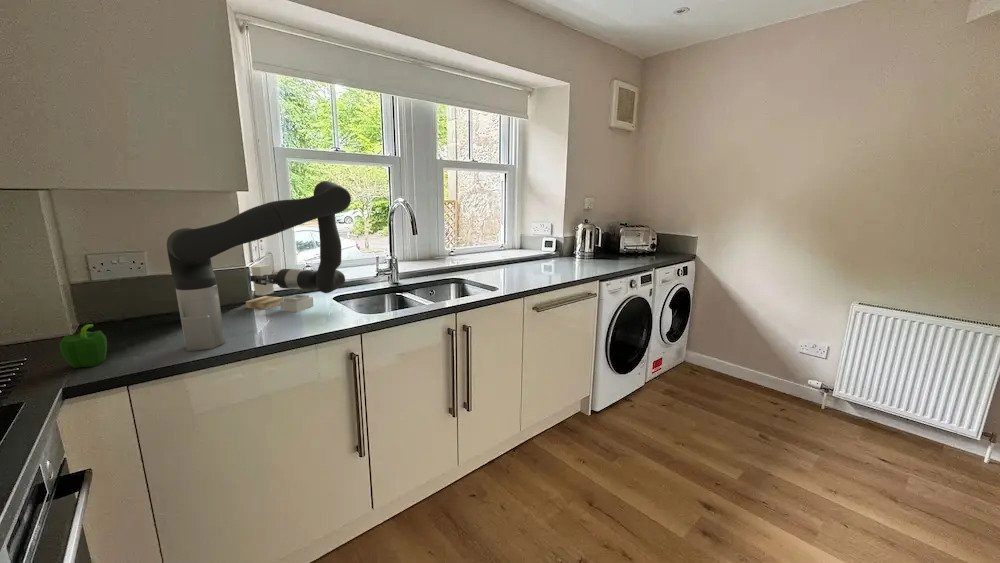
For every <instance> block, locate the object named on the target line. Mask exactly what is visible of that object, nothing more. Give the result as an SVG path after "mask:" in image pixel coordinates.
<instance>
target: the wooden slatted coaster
mask: <svg viewBox="0 0 1000 563" xmlns="http://www.w3.org/2000/svg"><path fill="white" fill-rule="evenodd" d="M281 301H284V297H282V296H281V297H279V296H271V295H270V296H268V295H262V296H261V297H257V298H252V299H250V300H246V301H245V305H246V306H245V307H246V309H247V308H248V309H257V310H268V308H269V309H271V307H272V308H274V307H277V306H280V302H281Z"/></svg>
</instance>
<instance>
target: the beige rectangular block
mask: <svg viewBox="0 0 1000 563" xmlns="http://www.w3.org/2000/svg"><path fill="white" fill-rule="evenodd" d="M283 299H284V301H281V302H280V305H279V306H280V311H281V312H293V313H298V312H301V311H303V310H305V309H309V308H311V307H314V306H315V304H314V297H313V296H310V295H307V294H293V295H291V296H288V297H283Z"/></svg>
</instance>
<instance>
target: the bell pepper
mask: <svg viewBox="0 0 1000 563" xmlns="http://www.w3.org/2000/svg"><path fill="white" fill-rule="evenodd" d="M93 327H94V324H92V323H91V324H89V323H88V324H85V325H84V326H83V327H82V328H80V333H78V334H77V335H74V334H73V335H65V336H63V338H62V339H61V341H60V343H59V345H58V346H59V350H60V354H61V355H62V357H63V359H64V360H65V362H67V363H68V365H70V366H71V367H72V368H74V369H76V368H77V369H78V368H84V367H86V368H88V367H94V366H97V365H100V364H103V363H104V361H105V359H106V358H107V351H108V339H107V335H106V334H104V333H103V331H102V330H94V331H87V330H88V329H92V328H93Z"/></svg>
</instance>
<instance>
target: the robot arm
mask: <svg viewBox="0 0 1000 563" xmlns="http://www.w3.org/2000/svg"><path fill="white" fill-rule="evenodd" d="M351 201H352V196H351V193H350V192H349V191H348V190H347V188H345V187H343V186H342V185H339V184H337V183H335V182H332V181H330V180H322V181H321V182H318V183H317V184H316V185H315V187H314V190H313V195H312V196H309V197H304V198H296V199H295V198H294V199H291V198H290V199H280V200H274V201H269V202H266V203H263V204H260V205H256V206H254V207H251V208H249V209H247V210H244V211H242V212H240V213H239V214H237V215H235V216H233V217H231V218H229V219H227V220H225V221H222V222H219V223H215V224H210V225H207V226H203V227H198V228H191V227H190V228H187V227H184V228H183V227H182V228H178V229H176V230H175V231H174V230H173V232H171V233H170V234H169V236H168V237H167V240H166V250H167V257H168V261H169V267H170V272H171V276H172V279H173V282H174V283H173V284H174V287H175V292H176V294H175V295H176V299H177V303H178V304H177V305H178V310H179V315H180V317H179V318H180V322H181V326H182V333H183V340H184V346H185V349H186V351H187V352H192V351H193V352H194V351H195V352H196V351H201V350H202V351H203V350H212V349H213V350H214V349H215V348H216V347H218V346H221V345H223V344H225V343H226V338H225V329H224V324H223V322H224V321H223V315H222V310H221V302H220V296H219V290H218V282H217V276H216V274H215V271H214V269H213V264H212V258H214V257H215V256H217V255H220V254H222V253H224V252H226V251H229V250H231V249H233V248H236V247H237V246H241V245H245V244H248V243H251V242H255V241H259V240H261V239H265V238H268V237H270V236H274V235H276V234H279V233H282V232H284V231H287V230H289V229H292V228H294V227H297V226H300V225H303V224H305V223H308V222H310V221H314V220H317V224H318V232H319V233H318V234H319V264H318V267H317V270H303V269H299V268H298V269H297V268H282V269H280V270H279V271H275V272H271V273H272V274H265V275H263V276H253V275H250V276H249V280H250V282H253V283H254V282H255V284H260V285H267V284H273V285H277V286H278V288H281V289H286V290H287V289H288V290H317V289H318V291H320V292H321V293H323V294H329V293H333V292H334V291H336V290H338V289H339V288H341V287H342V286H343V285H344V284H345V282H346V276H345V275H344V273H343V272H342V271H340V270H339V269H338V268H339V267H340V266H341V264H342V242H341V237H340V234H339V231H338V227H337V226H338V225H337V222H336V214H339V213H342V212H343V211H345V210H346V209H348V208H349V206H350V204H351V203H352V202H351ZM267 276H268V279H267Z"/></svg>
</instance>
